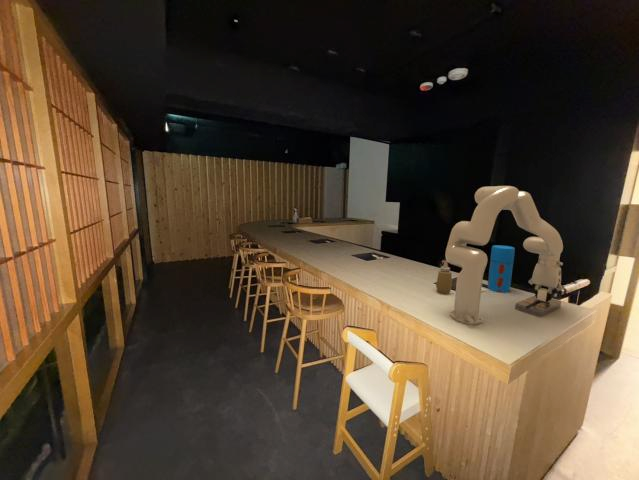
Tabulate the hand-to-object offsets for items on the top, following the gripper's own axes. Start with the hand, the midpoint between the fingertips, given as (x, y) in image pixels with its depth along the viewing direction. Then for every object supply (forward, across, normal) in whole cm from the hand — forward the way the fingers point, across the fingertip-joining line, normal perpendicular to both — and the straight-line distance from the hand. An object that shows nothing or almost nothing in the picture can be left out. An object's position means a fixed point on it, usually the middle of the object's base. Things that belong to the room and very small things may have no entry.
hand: (542, 298), depth 131 cm
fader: (+1, 0, 0) cm, 1 cm away
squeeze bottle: (+4, +36, +25) cm, 44 cm away
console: (+4, 0, +4) cm, 6 cm away
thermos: (+4, +23, -7) cm, 24 cm away
